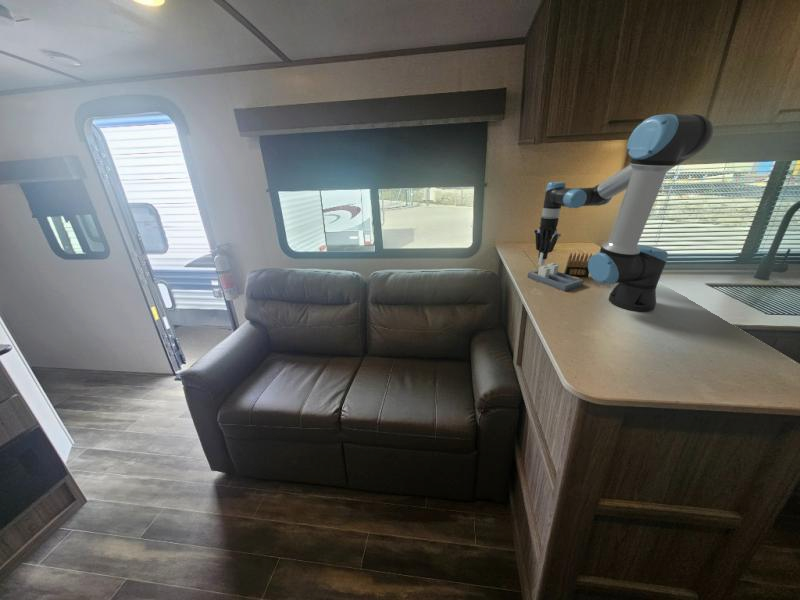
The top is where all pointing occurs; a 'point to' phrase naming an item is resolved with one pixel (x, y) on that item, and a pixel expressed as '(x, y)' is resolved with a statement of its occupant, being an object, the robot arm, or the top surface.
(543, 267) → the tab
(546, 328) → the top surface
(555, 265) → the tab
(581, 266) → the ammunition clip
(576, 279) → the switch bank
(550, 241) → the robot arm
